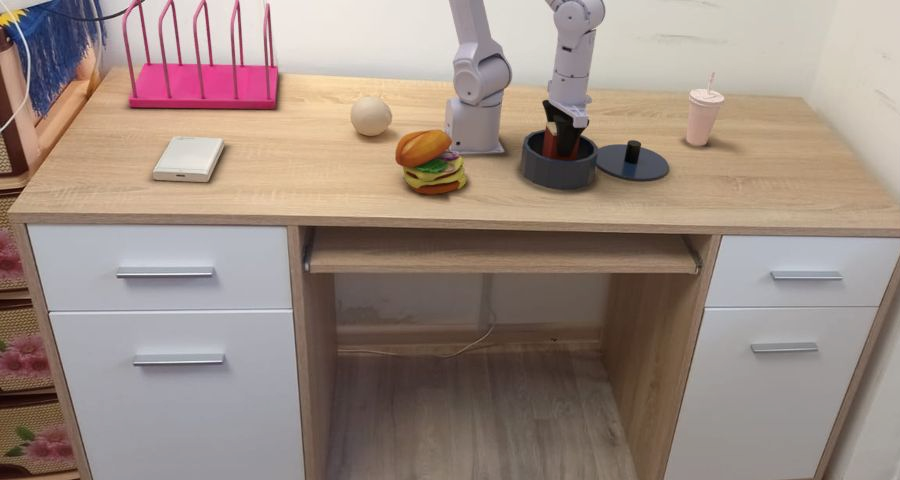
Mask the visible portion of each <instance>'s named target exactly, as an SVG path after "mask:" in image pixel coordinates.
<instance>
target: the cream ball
mask: <svg viewBox="0 0 900 480" xmlns="http://www.w3.org/2000/svg"><path fill="white" fill-rule="evenodd" d="M350 122H351V124H352V127H353V129H354V130H355V131H357V132H358V133H359V134H361V135H364V136H368V137H374V136H378V135H381V134H382V133H383V132H385V130H387V128H388V127H389V126H390V125H391V124H392V122H393V113H392V110H391V108H390V107H389V105H388V104H387V103H386V102H385V101H384V100H382V99H381V98H379V97H375V96H370V95H369V96H363V97H360V98H358V99H357V100H356V101H355V102H354V103H353V105H352V107H351V109H350Z"/></svg>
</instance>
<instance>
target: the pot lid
mask: <svg viewBox="0 0 900 480" xmlns="http://www.w3.org/2000/svg"><path fill="white" fill-rule="evenodd" d="M595 167H597V168H598V169H599V170H600V171H602V172H604V173H605V174H608V175H610V176H613V177H616V178H618V179H622V180H628V181H633V182H634V181H635V182H650V181H655V180H659V179H661V178H663V177H665V176H666V175H667V174H668V171H669V163H668V161H667V160H666V158H665V157H663V156H662V155H661V154H659V153H657V152H656V151H653V150H651V149H648V148H647V147H642V143H641V142H640V141H638V140H635V139H631V140H627V144H623V143H621V144H619V143H617V144H614V143H613V144H607V145H604V146H600V147H598V155H597V161H596V166H595Z"/></svg>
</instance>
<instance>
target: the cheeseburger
mask: <svg viewBox="0 0 900 480" xmlns="http://www.w3.org/2000/svg"><path fill="white" fill-rule="evenodd" d="M451 144H452V140H451V138H450V137H449V136H448V135H447V134H446V133H445V132H444V131H443V130H442V129H430V130H421V131H420V130H418V131H414V132H409V133H406V134H404V135H403V136H402V137H401V138H400V139H399V141H398V142H397V144H396V148H395V152H394V153H395V155H394V156H395V157H394V160H395V162H396V163H397V165H399V166H401V167H402V170H403V177H404V180H405V182H407V184H408V186H409V187H410V188H411V189H412V190H414V191H416V192H417V193H421V194H427V195H435V194H444V193H448V192H451V191H454V190H455V191H456V190H460V189H462V188H463V187H464V185H465V184H466V182H467V174H466V173H465V168H464V164H465V162H464V159H463V158H462V156H460V154H458V153H456V152H453V151H450V150H449V147H450V145H451Z"/></svg>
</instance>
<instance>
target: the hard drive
mask: <svg viewBox="0 0 900 480" xmlns="http://www.w3.org/2000/svg"><path fill="white" fill-rule="evenodd" d="M224 148H225V140H224V139H223V138H220V137H202V136H200V137H199V136H180V135H179V136H178V135H176V136H175V135H174V136H173V137H172V138H171V140H170V142H169V144H168V146H167V147H166V148H165V150H164V152H163V153H162V155H161V156H160V159H159V160H158V162H157V163H156V165H155V167H154V169H153V171H152V178H153V180H156V181H171V182H172V181H173V182H194V183H208V182H209V180H210V178H211V176H212V174H213V172H214V170H215V167H216V165H217V163H218V161H219V158H220V156H221V154H222V153H223V149H224Z"/></svg>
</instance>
